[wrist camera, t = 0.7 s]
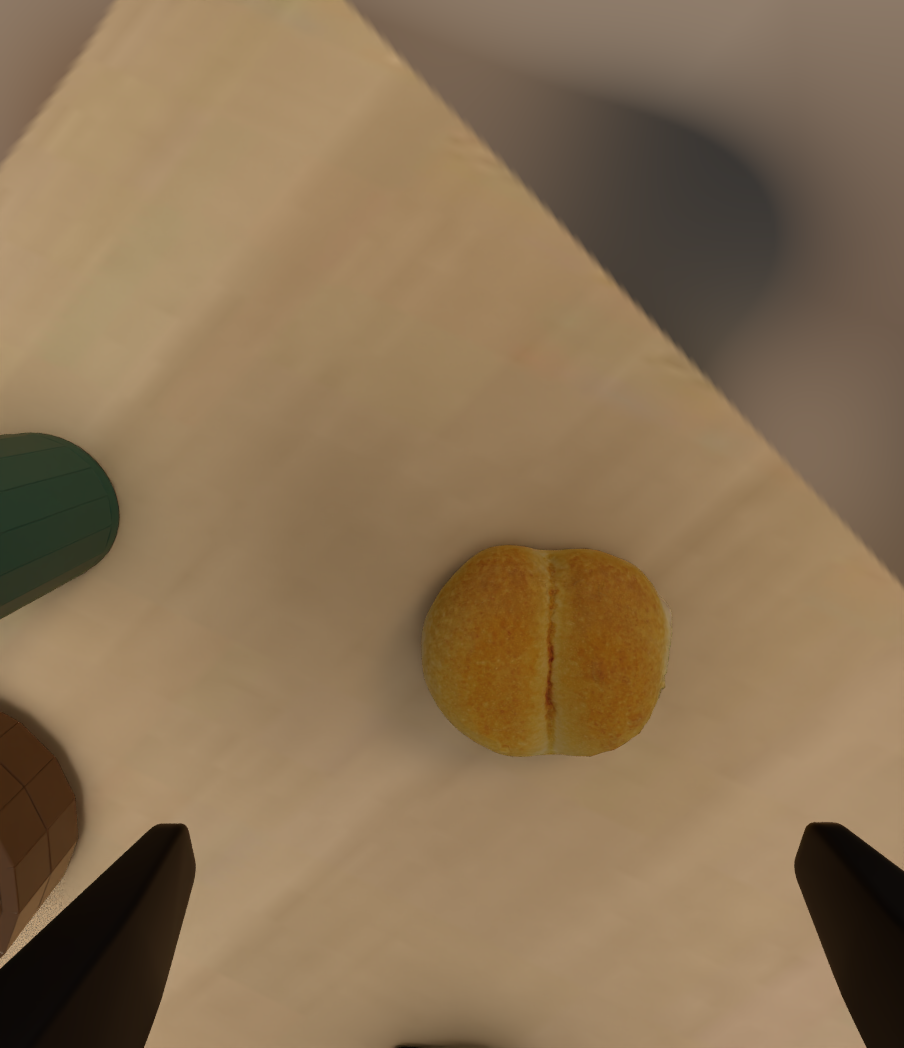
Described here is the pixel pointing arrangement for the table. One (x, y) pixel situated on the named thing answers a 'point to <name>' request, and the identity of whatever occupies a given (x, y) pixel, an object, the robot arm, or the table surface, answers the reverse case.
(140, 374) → the table surface
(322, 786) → the table surface
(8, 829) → the brown round bowl
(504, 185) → the table surface
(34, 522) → the ceramic bottle
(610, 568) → the bread roll
